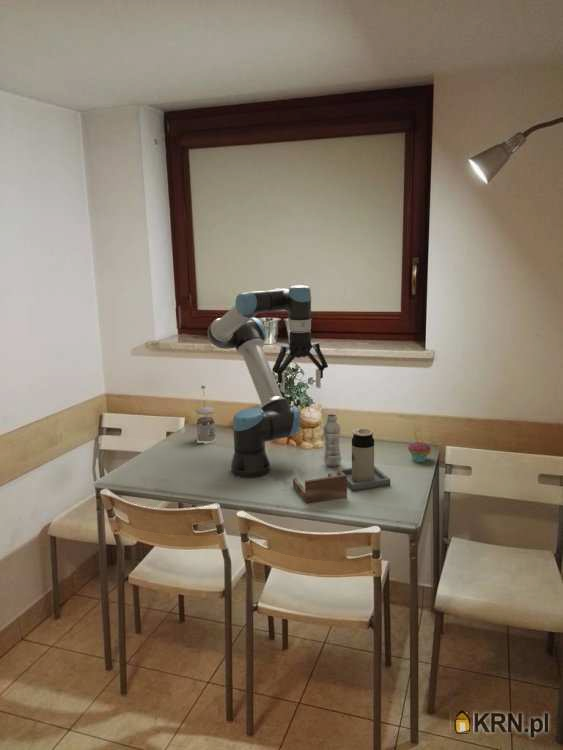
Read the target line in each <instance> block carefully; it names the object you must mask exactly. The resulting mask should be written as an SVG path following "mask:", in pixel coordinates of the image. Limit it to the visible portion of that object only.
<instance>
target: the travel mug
mask: <svg viewBox="0 0 563 750" xmlns="http://www.w3.org/2000/svg"><path fill="white" fill-rule="evenodd" d="M352 435H353V437H352V438H351V468H352V479H353V480H354V481H357V482H365V481H372V480H374V466H375V438H374V437H373V435H374V430H373V429H371V428H365V427H360V428H358V427H357V428H355V429H353V430H352Z"/></svg>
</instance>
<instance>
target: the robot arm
mask: <svg viewBox="0 0 563 750" xmlns="http://www.w3.org/2000/svg"><path fill="white" fill-rule="evenodd" d="M311 295H312V294H311V288H310V286H308V285H292V286H290V287H288V288H285V287H277V288H274V289H271V290H259V291H246V292H241V293H238V294H237V295H236V298H235V305H233V307H231V308H230V309H229V310H228V311H227V312H226V313H225V314H224V315H223V316H221V317H219V318H216V319H214V320H213V322H211V324H209V326H208V328H207V338H208V339H209V342H210V343H211V344H212V345H214V346H215V347H217V348H220V349H227V350H228V349H235V350H236V352H237V354H238V355H240V356H242V357H243V361H244V362H245V364H246V367H247V369H248V373H249V375H250V378H251V381H252V383H253V386H254V389H255V391H256V393H257V396H258V399H259V400H260V403H261V407H253V408H252V407H249V408H244V409H242V410H241V409H240V410H239V411H238V412H236V413H235V414H234V416H233V419H232V429H233V430H232V431H233V444H234V445H233V446H234V447H233V449H234V452H233V457H232V461H231V463H230V472H232V473H233V474H234V476H235V475H236V476H235V477H238V476H240V477H239V478H244V477H246V478H258V477H263V476H265V475H268V473H270V472H271V462H270V460H269V457H268V454H267V451H266V443H267V442H271V441H275V440H281V439H284V438H289V437H291V436H293V437H294V436H295V435H297V434H298V432H299V431H300V428H301V421H302V420H301V414H300V410H299V408H298V406H296V405H293V404H291V405H290V402H289V400H288V399H287V398H285V397H283V395H282V393H286V383H285V381H286V380H285V377H286V375H285V373H284V372H285V370H286V369H287V368H288V367H289V366H290V364H291V363H292V361H293V360H295V358H306V357H308V358H309V360H310V361H311V362H312V363H313V364H314V365H315V366H316V367H317V368H315V387H316V388H318V389H321V384H322V383H321V381H322V379H323V378H324V370H325V369H327V368H328V367H329V365H328V363H327V360H326V359H325V357H324V355H323V353H322V350H321V349H320V348H321V346H320V343H319V342H317V341H315V342H313V343H312V332H311V329H312V318H311V317H312V296H311ZM281 311H287V312H288V313H289V314H288V315H289V317H288V320H289V324H288V328H289V329H288V330H290V331H289V337H288V338H289V345H283V344H282V345H281V346H280V349H279V351H280V352H279V354H278V356H277V357H276V360H275V363H274V365H273V367H272V368H271V366H270V363H269V361H268V359H267V356H266V354H265V351H264V348H263V347H264V345H265V342H266V337H267V334H266V329H265V326H264V324H263V323H262V321H261V320H260V319H259V318H257V317H256V315H258V314H263V313H273V312H281ZM311 349H313V350H314V351H315V354H316V355H317V357H318V359H319V361H318V360H317V358H315V356H314V355H313V354H312V352H311ZM288 351H289V354H287V356H286V353H287V352H288ZM285 356H286V358H285ZM284 359H285V360H284ZM283 360H284V361H283ZM274 373H275V374H277V381H276V378H275V376H274ZM277 382H278V383H279V385H278V383H277ZM279 386H280V387H279ZM281 392H282V393H281ZM232 473H231V474H232ZM233 474H232V475H233Z"/></svg>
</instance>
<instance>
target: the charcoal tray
mask: <svg viewBox="0 0 563 750" xmlns="http://www.w3.org/2000/svg"><path fill="white" fill-rule="evenodd" d="M336 472H337V473H336V476H339V475H346V476H347V489H349V490H350V491H351V492H359V490H360V491H364V490H365V489H366V490H372V489H378V488H384V487H390V486H391V478H390V477H388V476H387V475H386V474H385V473H383V472H382V471H381V470H380V469H379V468H378V467H377V466H376V465H374V480H372V481H365V482H357V481H354V480H353V479H352V467H348V468H341V469H337V470H336Z"/></svg>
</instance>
